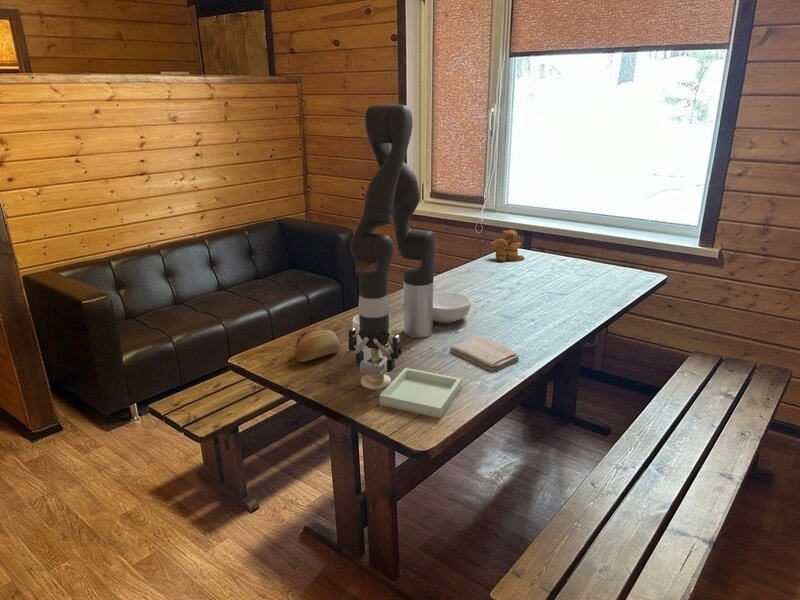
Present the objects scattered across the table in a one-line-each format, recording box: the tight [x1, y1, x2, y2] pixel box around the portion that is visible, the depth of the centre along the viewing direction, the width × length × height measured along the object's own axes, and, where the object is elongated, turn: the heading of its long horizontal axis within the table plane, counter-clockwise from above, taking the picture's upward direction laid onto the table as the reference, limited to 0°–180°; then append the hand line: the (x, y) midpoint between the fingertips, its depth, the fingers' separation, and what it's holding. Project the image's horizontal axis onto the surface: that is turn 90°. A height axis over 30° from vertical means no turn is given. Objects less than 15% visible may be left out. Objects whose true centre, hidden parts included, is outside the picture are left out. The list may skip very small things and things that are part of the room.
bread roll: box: [294, 327, 341, 363], centre depth 169 cm, size 10×15×8 cm, turn 134°
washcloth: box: [449, 335, 520, 372], centre depth 169 cm, size 12×18×3 cm, turn 41°
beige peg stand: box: [360, 348, 392, 391], centre depth 153 cm, size 8×8×12 cm
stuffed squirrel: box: [490, 229, 525, 263], centre depth 258 cm, size 10×14×13 cm
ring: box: [359, 354, 387, 376], centre depth 153 cm, size 6×6×2 cm
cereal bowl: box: [433, 291, 472, 324], centre depth 195 cm, size 17×17×7 cm
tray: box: [379, 367, 463, 419], centre depth 147 cm, size 16×16×3 cm
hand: (375, 368), depth 153 cm, fingers open, 8 cm apart
